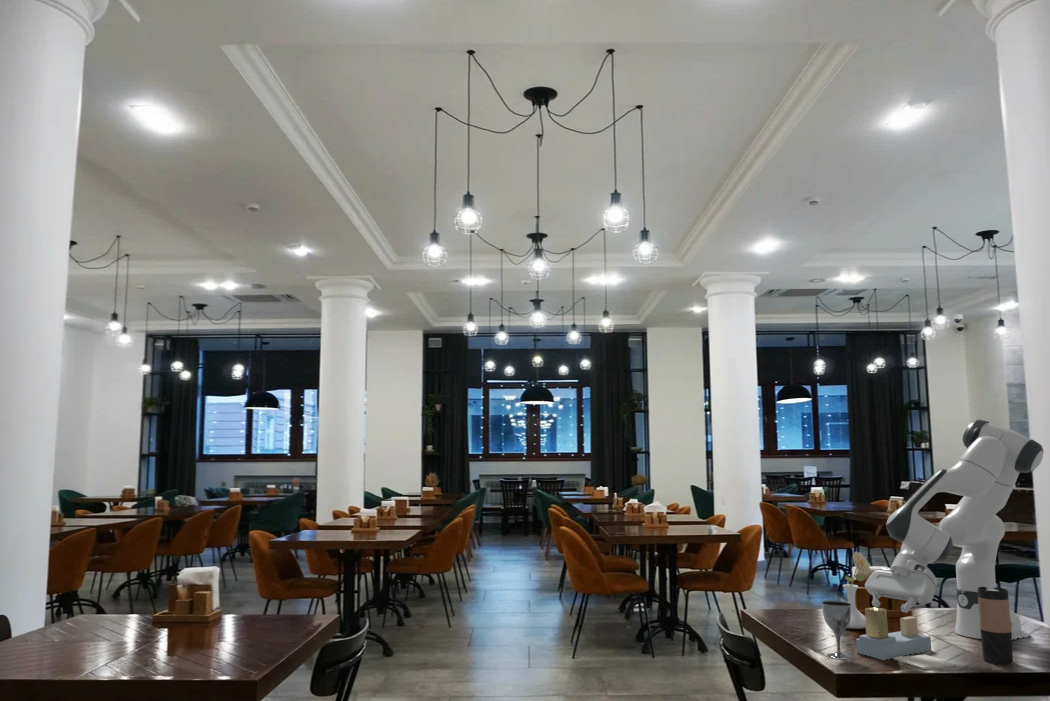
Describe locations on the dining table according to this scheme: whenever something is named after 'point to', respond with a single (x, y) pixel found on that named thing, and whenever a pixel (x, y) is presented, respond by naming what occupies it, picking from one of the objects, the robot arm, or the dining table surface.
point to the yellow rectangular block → (876, 623)
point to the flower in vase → (856, 617)
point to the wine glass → (837, 621)
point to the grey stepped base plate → (895, 642)
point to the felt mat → (924, 661)
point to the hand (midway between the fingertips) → (889, 608)
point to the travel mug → (995, 625)
